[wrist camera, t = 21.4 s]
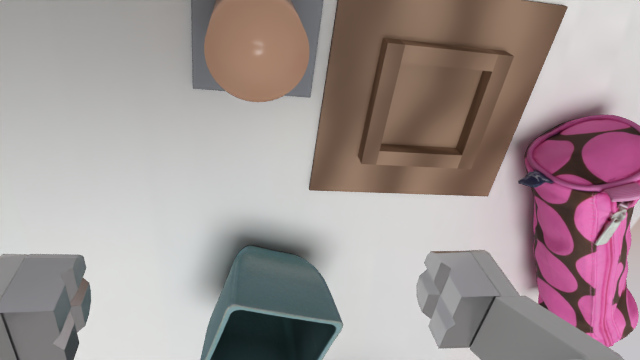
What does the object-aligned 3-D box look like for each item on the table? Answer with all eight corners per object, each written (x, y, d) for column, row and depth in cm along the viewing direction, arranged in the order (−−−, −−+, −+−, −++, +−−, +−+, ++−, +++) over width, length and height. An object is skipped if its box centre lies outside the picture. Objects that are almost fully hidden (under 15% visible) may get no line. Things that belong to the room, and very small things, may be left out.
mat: (193, 86, 29) (192, 88, 29) (191, -45, 25) (190, -44, 25) (309, 95, 31) (310, 97, 31) (325, -27, 27) (326, -26, 26)
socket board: (309, 188, 35) (311, 198, 34) (341, -25, 27) (346, -21, 26) (486, 194, 39) (494, 204, 37) (565, 5, 30) (578, 10, 29)
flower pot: (231, 221, 36) (228, 305, 29) (326, 242, 39) (346, 324, 32) (203, 292, 40) (194, 382, 33) (292, 307, 43) (302, 393, 36)
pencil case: (486, 142, 36) (559, 217, 28) (602, 94, 35) (713, 157, 27) (516, 296, 48) (573, 380, 39) (602, 263, 47) (679, 343, 39)
